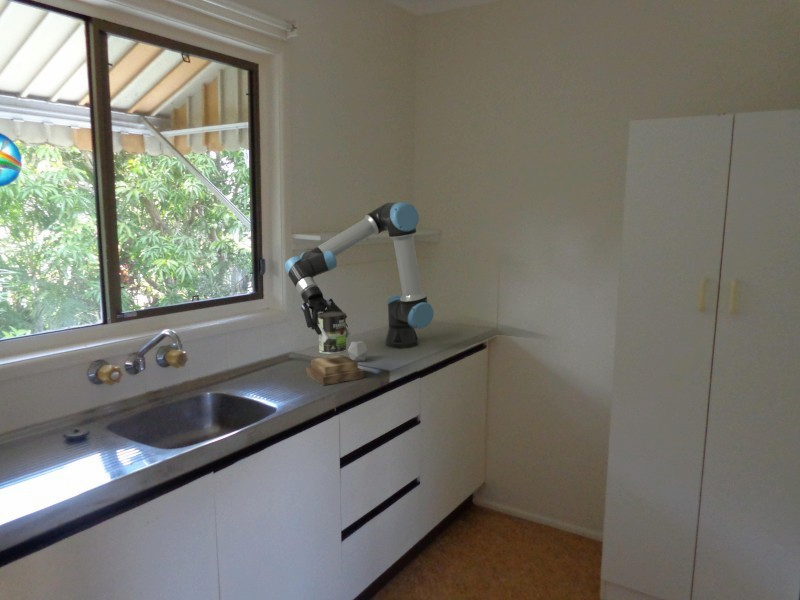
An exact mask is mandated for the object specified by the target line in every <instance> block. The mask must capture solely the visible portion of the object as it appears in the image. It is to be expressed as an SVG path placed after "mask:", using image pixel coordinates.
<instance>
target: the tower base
mask: <svg viewBox="0 0 800 600" xmlns="http://www.w3.org/2000/svg"><path fill="white" fill-rule="evenodd" d="M358 362H359V361H354V360H352V359H351V358H350V357H347V356H346V355H343V354H341V355H340V354H338V355H334V356H327V357H321V358H315V359H311V360H310V364H311V366H306V367H305V369H306V371H305V372H306V376H308V377H309V378H310V379H312V380H314V381H316V382H318V383H319V384H321V385H322V386H328V385H329V386H330V385H334V384H340V383H345V382H350V381H355V380H356V381H357V380H361V379H364V369H362V368H360V367H359V366H358V365H359V364H358ZM344 381H345V382H344Z"/></svg>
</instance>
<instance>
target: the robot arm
mask: <svg viewBox="0 0 800 600" xmlns="http://www.w3.org/2000/svg"><path fill="white" fill-rule="evenodd" d="M419 220H420V217H419V213H418V210H417V209H416V207H415V206H414V205H412V204H411V203H408V202H403V201H399V202H396V201H395V202H387V203H384V204H382V205H380V206H378V207H376V208H375V209H373V210H371V212H369V213H367V214H365V216H364V218H363V219H362V220H360V221H358V222H356V223H355V224H354V225H351V226H350V227H348V228H346V229H345V230H343V231H341V232H340V233H338V234H337V235H335V236H333V237H331V238H330V239H328V240H326V241H325V242H323V243H321V244H320V245H318V246H316V247H315V248H313V249H311V250H307V251H304V252H302V253H301V254H300V256H292V257H290V258H288V259H287V260H286V262H285V264H284V269H285V272H286V273H287V276H288V277H289V278H290V280H291V282H292V283H293V285H294V286H295V288H296V290H297V292H298V294H299V296H300V297H301V298H302V300H303V304H302V305H301V307H300V309H301V311H302V312H303V314H304V319H305V322H306V326H307V328H309V329H311V330H313V331H315V332H316V335H318V336H319V335H320V337H321V339H322V340H323V342H324V343H325V342H326V341H327V340H328V336H327V334H326V333H325V331H324V329H323V328H322V326H321V324H318V314H319V313H322V312H344V311H343V310H342V309H340V307H339V306H338V305H337V304H336V303H335V302H334V300H333V298H329V299H328V300H327V299H325V298H324V295H323V292H322V290H321V289H320V287H319V286H318V284H317V282H316V281H315V279H314V277H317V276H319V275H321V274H324V273H326V272H330V271H331V270H334V269H335V268H337V266H338V261H337V258H336V257H337V256H339V255H341V254H343V253H344V252H346V251H347V250H349V249H351V248H352V247H354V246H356V245H358V244H359V243H361V242H362V241H364V240H366V239H368V238H369V237H371V236H372V235H375V236H376V235H378V234H380V233H383V232H387V233H388V237H389V238H390V239H391V240H392V241H393V245H394V247H393V248H394V252H395V259H396V262H397V263H396V264H397V268H398V269H397V270H398V275H399V281H400V287H401V293H402V294H397V295H390V296H388V300H387V311H388V312H387V313H388V329H387V333H386V337H385V341H384V344H385V346H386V347H388V348H391V349H392V348H393V349H409V348H414V347H417V346H419V338H418V335H417V333H416V329H424V328H427V327H428V326H430V324H431V322H432V321H433V319H434V315H435V312H434V308H433V306H432V305H431V304H430V303H428V302H429V301H428V297H427V294H426V293H425V292H424V291H423V289H422V282H421V276H420V275H421V274H420V269H419V264H418V263H419V262H418V256H417V252H416V243H415V239H414V237H415V236H416V234H417V226H418V224H419ZM347 318H348V316H347V315H346V316H345V320H346V319H347ZM351 334H352V332H351V331H350V329H349V328H348V324H347V323H346V339H347V338H349V337H350V335H351Z"/></svg>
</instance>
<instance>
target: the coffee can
mask: <svg viewBox="0 0 800 600" xmlns="http://www.w3.org/2000/svg"><path fill="white" fill-rule="evenodd" d="M345 316H347V314H346V313H345V312H344V311H343V312H318V324H321V326H322V328H323V329H324V331H325V333H326V334H327V336H328V340H327V341H326V342H325V343H324V342H323V340H322V339H321V337H320V335H318V352H319V353H320V354H324V355H340V354H344V353H346V352H347V338H346V324H347V322H346V319H345Z"/></svg>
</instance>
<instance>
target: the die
mask: <svg viewBox="0 0 800 600" xmlns="http://www.w3.org/2000/svg"><path fill="white" fill-rule="evenodd" d="M347 353H348V355H349V358H350V359H352V360H354V361H356V362H365V360H366V358H367V356H368V353H369V350H368V348H367V346H366V343H365V341H363V340H361V341H360V340H359V341H351V342H350V345H349V347H348V349H347Z"/></svg>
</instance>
